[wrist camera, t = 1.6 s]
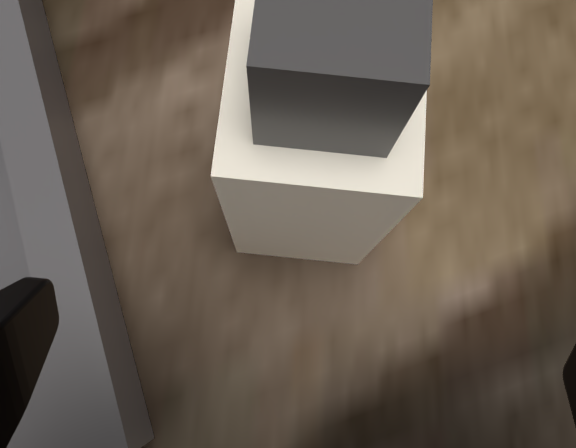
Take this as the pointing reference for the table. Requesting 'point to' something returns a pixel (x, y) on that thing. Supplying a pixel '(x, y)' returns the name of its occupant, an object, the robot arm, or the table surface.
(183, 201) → the table surface
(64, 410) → the plate
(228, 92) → the plug
